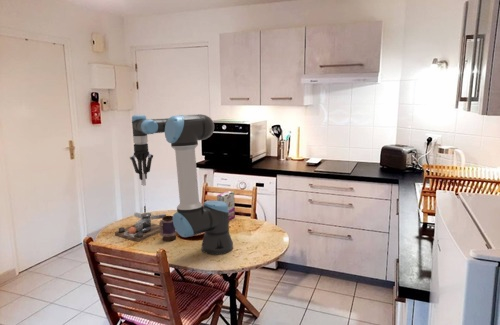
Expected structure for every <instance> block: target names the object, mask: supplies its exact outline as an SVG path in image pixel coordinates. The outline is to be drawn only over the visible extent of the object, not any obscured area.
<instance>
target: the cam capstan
mask: <svg viewBox="0 0 500 325" xmlns="http://www.w3.org/2000/svg"><path fill="white" fill-rule="evenodd" d="M133 216H134V217H136V218H138V219H139V220H138V221H136V222H135V223H134V225H135V226H134V227H135V228H136V230H137V231H136V233H137V232H143V233H146V232H149V231H150V230H151V223H152V220H160V219H161V220H162V218H163V217H165V216H167V214H166V213H161V214H160V213H159V214H152V213H151V212H144V213H140V212H134V215H133Z"/></svg>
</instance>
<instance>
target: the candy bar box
mask: <svg viewBox="0 0 500 325" xmlns="http://www.w3.org/2000/svg"><path fill="white" fill-rule="evenodd" d="M216 201H221V202H224V203H226V204H227V205H228V210H229V221H231V220H233V219H235V218H236V211H235V210H236V209H235V191H230V190H227V191H224V192H222V193H220V194H217V195H216Z"/></svg>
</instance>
